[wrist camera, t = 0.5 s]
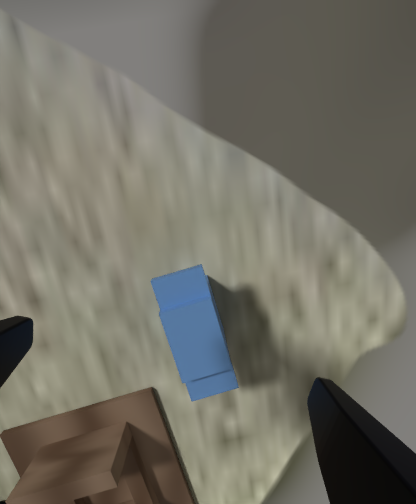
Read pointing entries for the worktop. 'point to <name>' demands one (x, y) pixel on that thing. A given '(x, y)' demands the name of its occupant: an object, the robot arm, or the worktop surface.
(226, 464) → the worktop surface
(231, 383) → the block
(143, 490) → the cradle
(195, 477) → the worktop surface
